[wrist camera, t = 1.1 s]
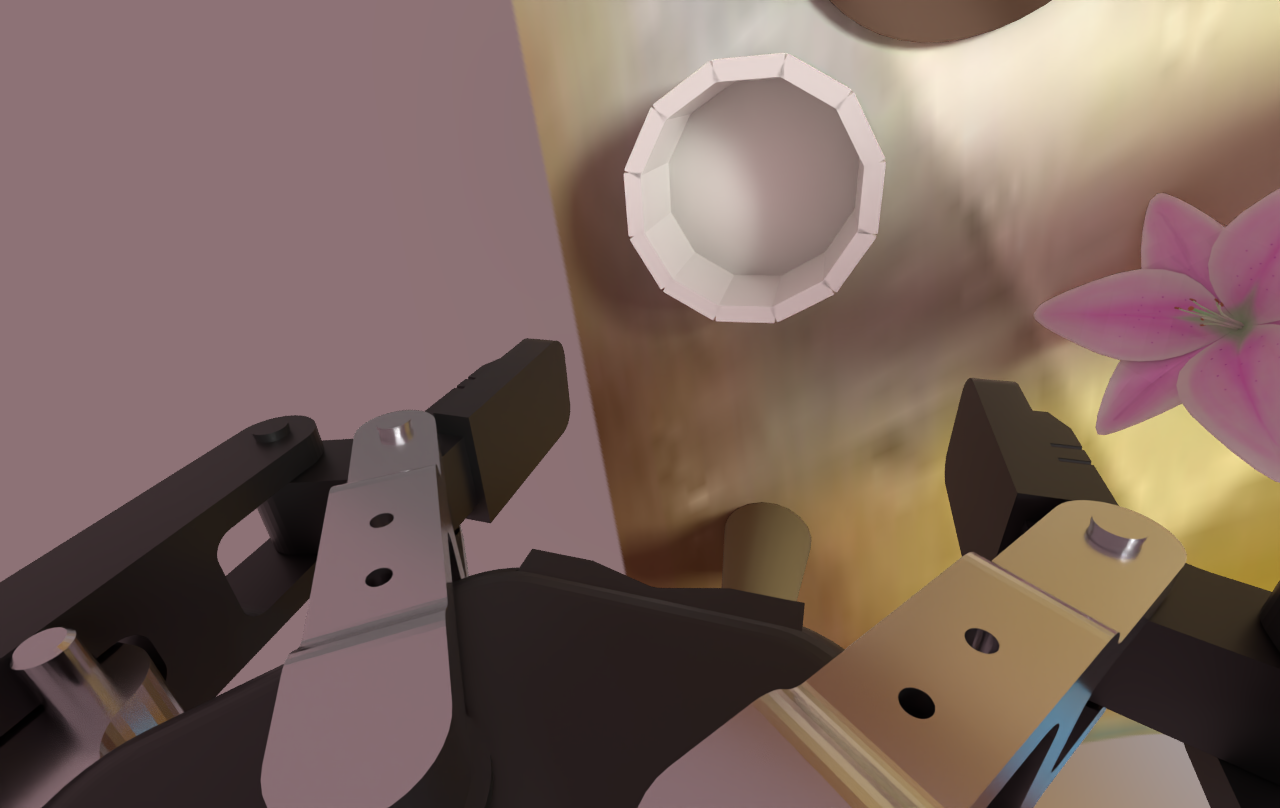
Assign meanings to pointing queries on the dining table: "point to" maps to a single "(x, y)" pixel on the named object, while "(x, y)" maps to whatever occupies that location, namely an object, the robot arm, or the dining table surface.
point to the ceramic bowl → (754, 188)
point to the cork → (765, 551)
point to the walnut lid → (935, 17)
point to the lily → (1190, 326)
